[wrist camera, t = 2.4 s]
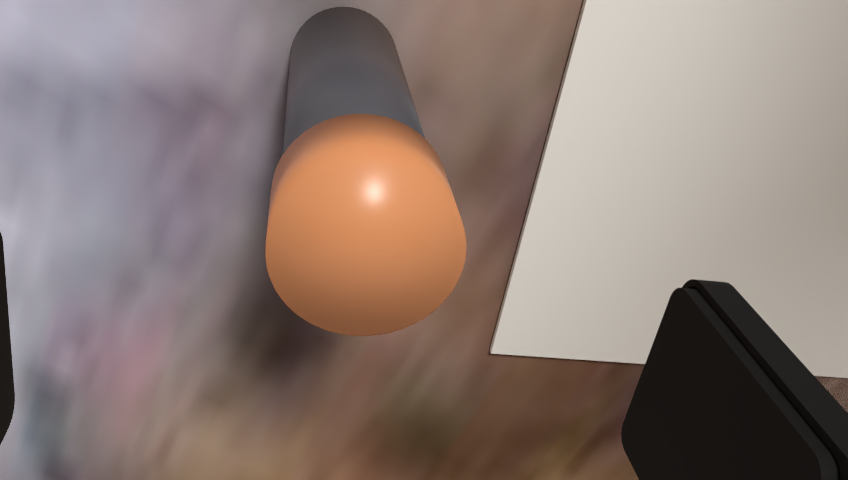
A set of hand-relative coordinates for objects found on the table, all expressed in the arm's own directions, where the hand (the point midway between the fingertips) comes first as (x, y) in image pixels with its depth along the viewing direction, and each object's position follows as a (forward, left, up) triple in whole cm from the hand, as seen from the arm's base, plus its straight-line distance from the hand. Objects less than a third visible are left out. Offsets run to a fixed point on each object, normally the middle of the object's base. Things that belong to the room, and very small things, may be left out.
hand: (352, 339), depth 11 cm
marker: (-1, 0, -12) cm, 12 cm away
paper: (+1, +13, -12) cm, 18 cm away
